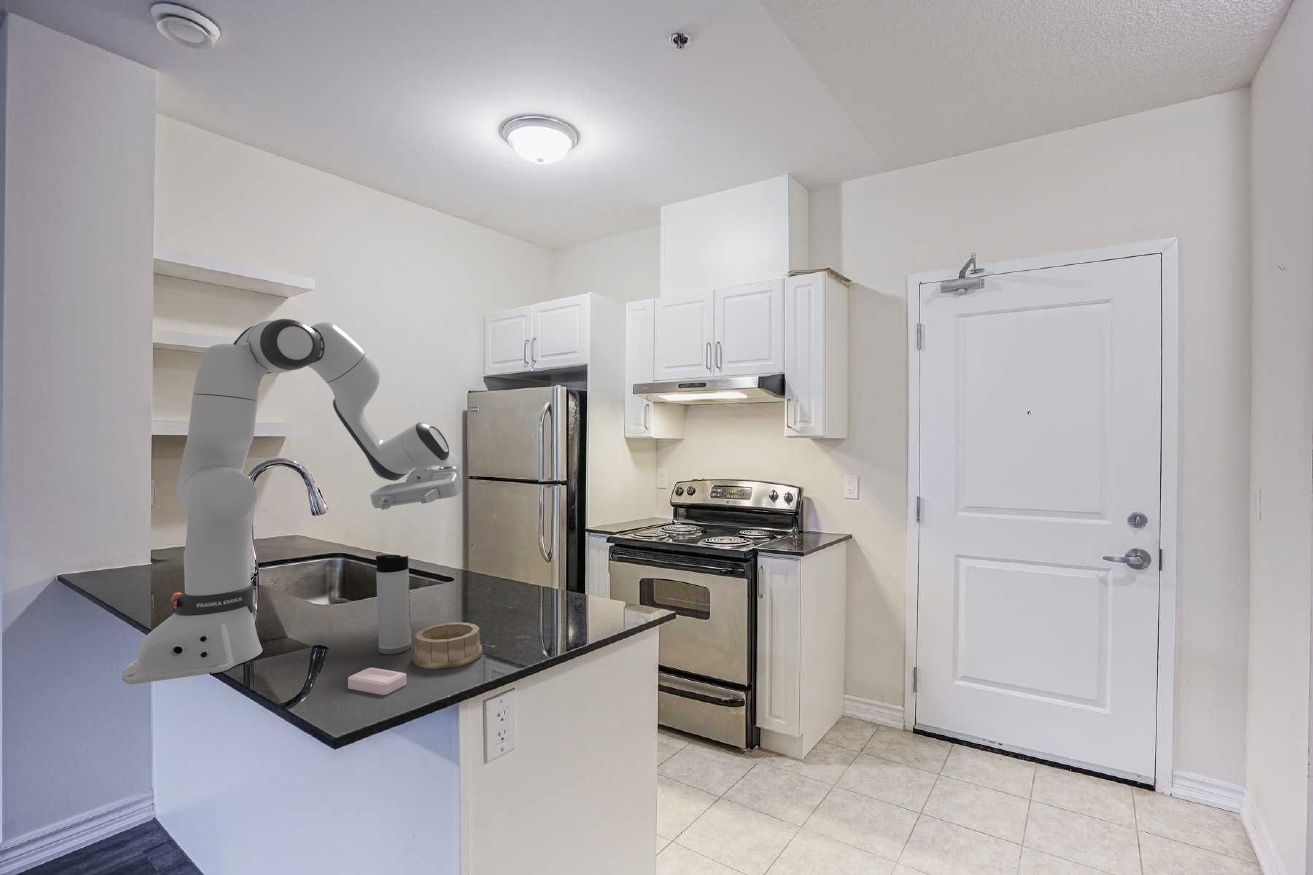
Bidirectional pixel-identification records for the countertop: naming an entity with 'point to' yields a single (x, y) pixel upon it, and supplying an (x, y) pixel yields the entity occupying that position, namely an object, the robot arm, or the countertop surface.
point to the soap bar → (377, 681)
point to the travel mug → (393, 604)
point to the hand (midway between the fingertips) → (403, 503)
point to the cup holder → (447, 645)
